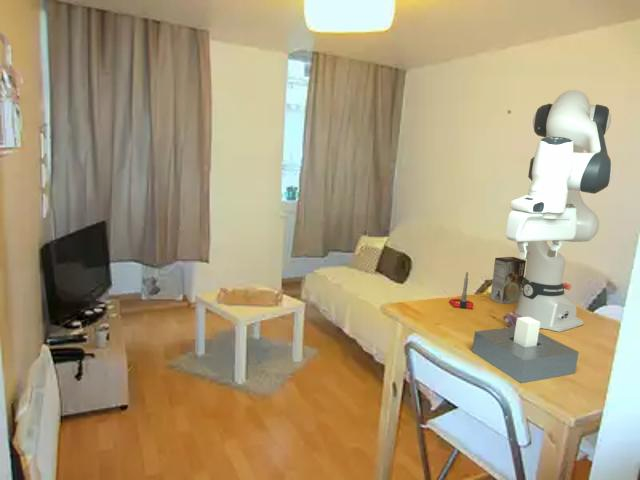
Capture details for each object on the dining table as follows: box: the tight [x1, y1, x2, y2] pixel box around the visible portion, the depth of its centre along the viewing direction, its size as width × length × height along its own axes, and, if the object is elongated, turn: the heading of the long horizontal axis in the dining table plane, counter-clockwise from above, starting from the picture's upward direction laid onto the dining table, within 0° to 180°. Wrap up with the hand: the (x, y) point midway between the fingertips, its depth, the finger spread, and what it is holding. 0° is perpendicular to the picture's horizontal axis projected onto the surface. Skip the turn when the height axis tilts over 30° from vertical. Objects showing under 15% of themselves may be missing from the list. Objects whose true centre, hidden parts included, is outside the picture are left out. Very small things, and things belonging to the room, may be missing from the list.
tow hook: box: [448, 271, 474, 310], centre depth 172 cm, size 8×13×9 cm
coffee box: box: [489, 256, 527, 305], centre depth 179 cm, size 9×6×16 cm
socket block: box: [471, 326, 580, 384], centre depth 128 cm, size 18×18×6 cm
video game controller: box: [503, 311, 522, 327], centre depth 149 cm, size 10×5×7 cm, turn 24°
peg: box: [514, 317, 541, 347], centre depth 127 cm, size 4×4×12 cm
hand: (537, 257), depth 123 cm, fingers open, 8 cm apart
